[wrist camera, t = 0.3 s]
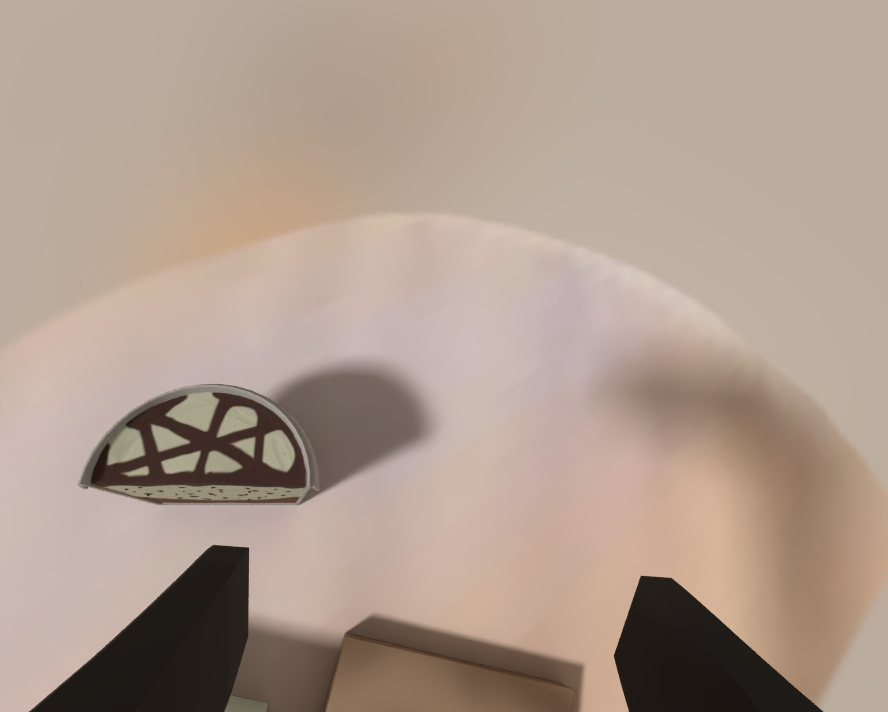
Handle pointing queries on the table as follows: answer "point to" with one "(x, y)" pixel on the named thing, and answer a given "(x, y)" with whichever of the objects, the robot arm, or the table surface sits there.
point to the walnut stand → (432, 683)
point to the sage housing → (245, 705)
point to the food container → (205, 451)
